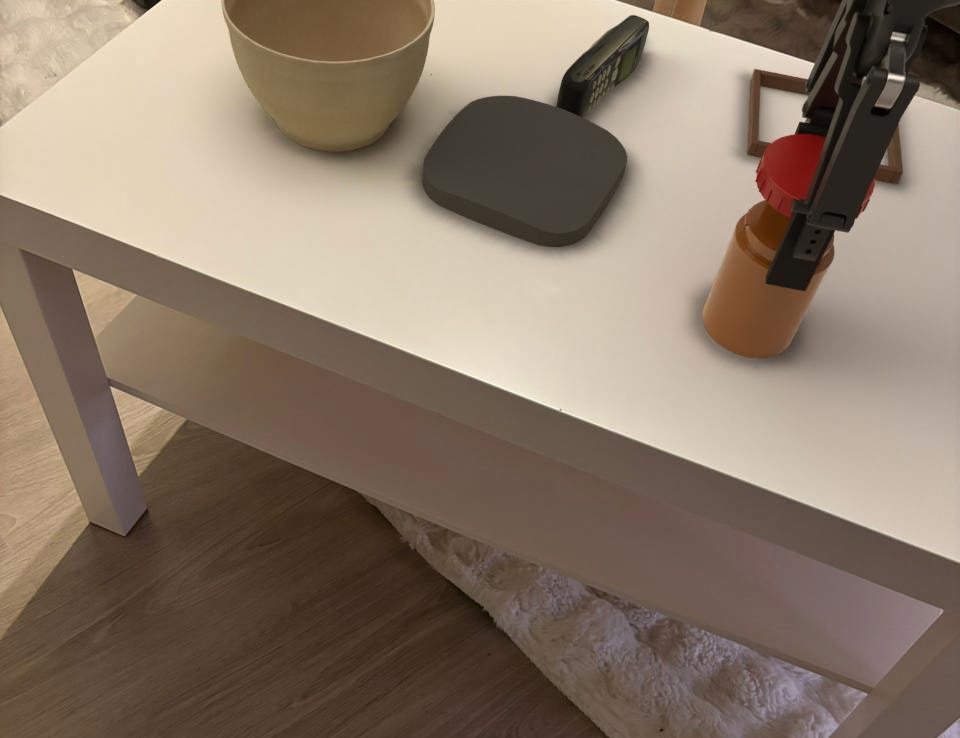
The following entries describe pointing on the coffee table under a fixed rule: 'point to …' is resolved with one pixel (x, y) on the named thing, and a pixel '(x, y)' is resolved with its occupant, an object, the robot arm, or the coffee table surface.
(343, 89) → the planter bowl
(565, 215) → the media streaming box
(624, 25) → the mobile phone
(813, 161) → the lid
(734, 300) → the jar
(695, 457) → the coffee table surface
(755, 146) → the picture frame
